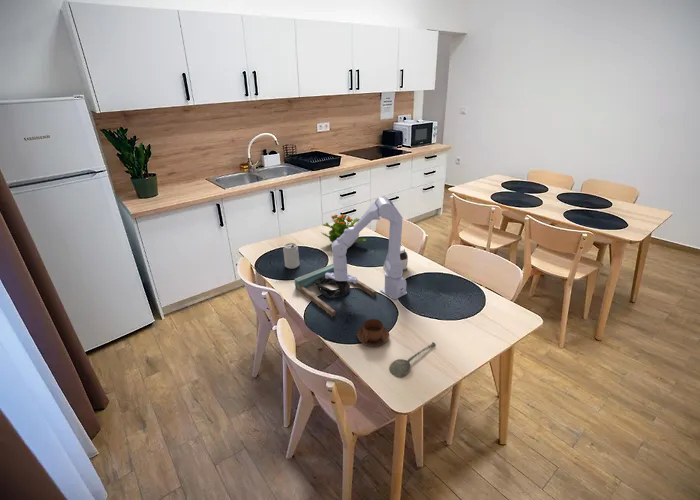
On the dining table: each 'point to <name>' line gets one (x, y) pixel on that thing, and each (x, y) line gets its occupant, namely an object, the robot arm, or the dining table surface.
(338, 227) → the potted flower
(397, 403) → the dining table surface
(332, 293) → the cable
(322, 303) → the guide channel
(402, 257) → the spread jar
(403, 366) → the soupspoon
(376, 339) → the cup and saucer
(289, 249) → the can
